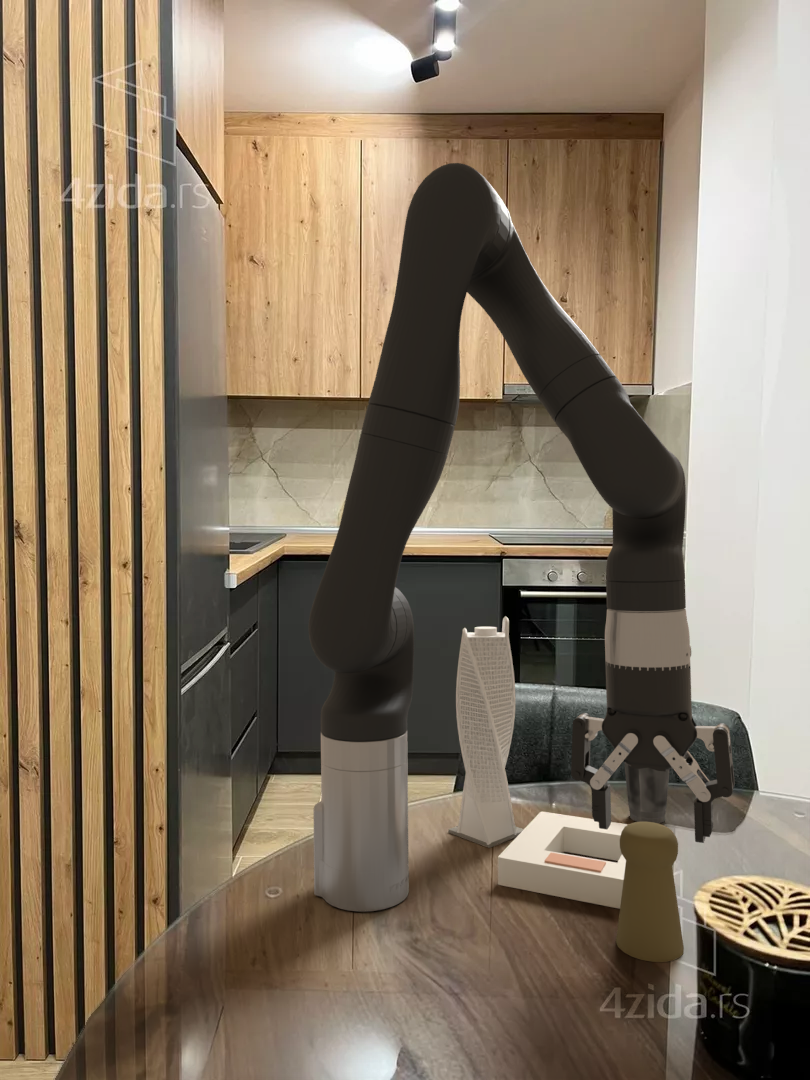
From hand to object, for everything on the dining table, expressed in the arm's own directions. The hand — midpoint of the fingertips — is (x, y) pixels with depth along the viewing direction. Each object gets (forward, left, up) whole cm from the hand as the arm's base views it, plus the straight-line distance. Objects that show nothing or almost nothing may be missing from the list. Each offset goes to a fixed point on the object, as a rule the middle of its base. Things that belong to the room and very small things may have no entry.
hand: (651, 833), depth 74 cm
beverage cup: (-6, +34, -11) cm, 36 cm away
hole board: (-9, +14, -10) cm, 20 cm away
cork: (0, 0, -11) cm, 11 cm away
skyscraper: (-23, +19, -11) cm, 32 cm away
